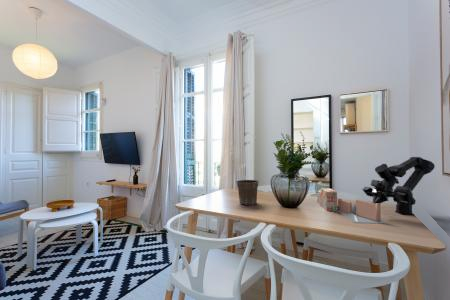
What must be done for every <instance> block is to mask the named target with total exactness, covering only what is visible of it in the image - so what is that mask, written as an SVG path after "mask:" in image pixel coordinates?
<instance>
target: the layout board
mask: <svg viewBox="0 0 450 300" xmlns="http://www.w3.org/2000/svg"><path fill="white" fill-rule="evenodd" d="M336 212H339V213H340V214H342V215H343V216H344V217H346V218H348V219H349V220H350V221H352V222H353V223H356V224H357V223H358V224H387V223H386V222H385V221H383V220H381V222H378V221H375V220H372V219H369V218H365V217H362V216H359V215H356V214H352V213H347V212H344V211H341V210H338V208H337V211H336Z"/></svg>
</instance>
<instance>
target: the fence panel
mask: <svg viewBox="0 0 450 300" xmlns="http://www.w3.org/2000/svg"><path fill="white" fill-rule="evenodd" d="M352 214H356V215H359V216H362V217H365V218H369V219H372V220H375V221H378V222H381V221H382V220H381V203H380V204H379V203H376V204H374V203H372V202H369V201H364V200H361V199H355V204H352Z"/></svg>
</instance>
